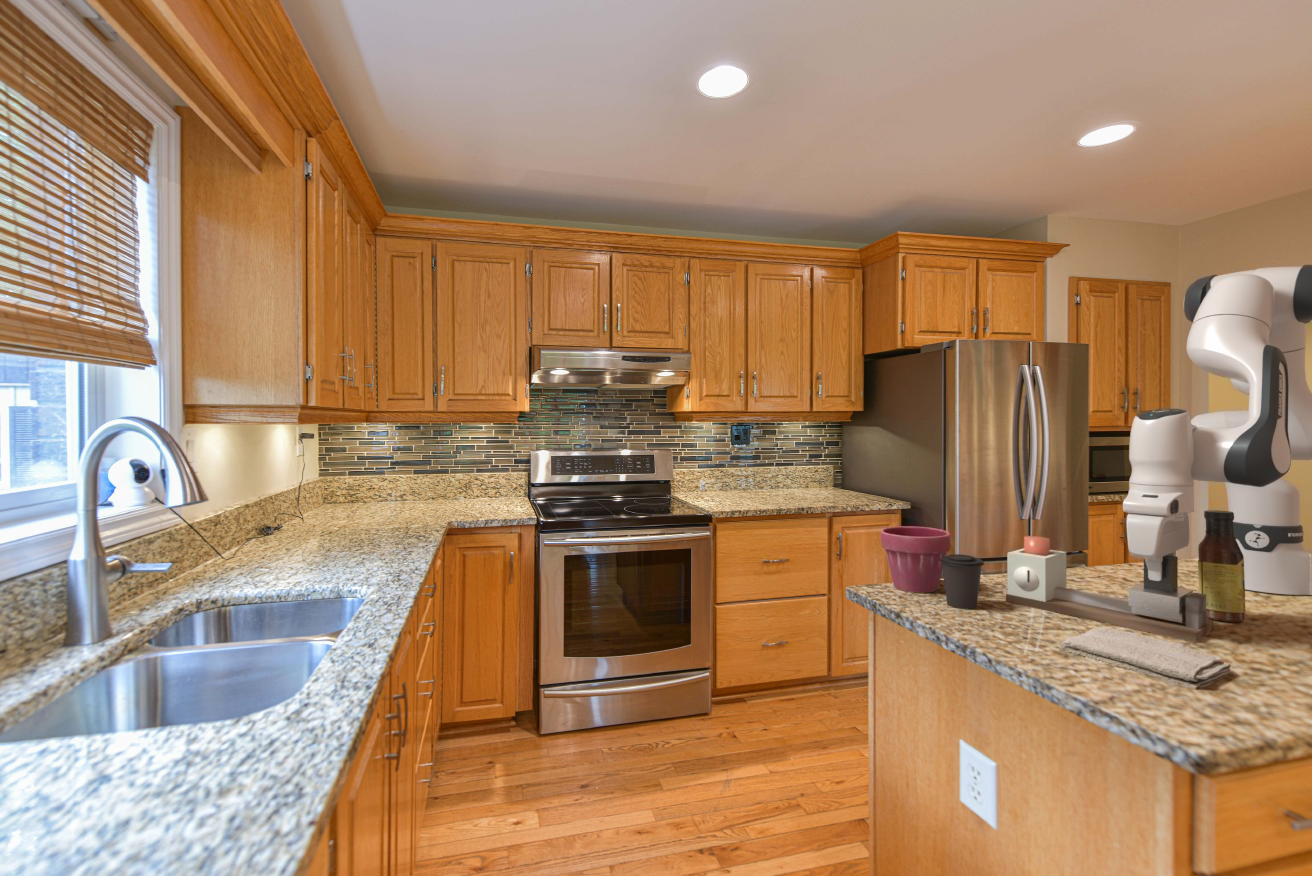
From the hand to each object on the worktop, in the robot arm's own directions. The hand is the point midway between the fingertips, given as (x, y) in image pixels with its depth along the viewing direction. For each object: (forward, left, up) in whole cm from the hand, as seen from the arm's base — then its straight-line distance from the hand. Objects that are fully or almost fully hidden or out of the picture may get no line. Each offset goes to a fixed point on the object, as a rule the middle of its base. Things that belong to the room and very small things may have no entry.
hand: (1160, 577), depth 106 cm
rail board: (0, -9, -9) cm, 12 cm away
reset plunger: (0, -20, -1) cm, 20 cm away
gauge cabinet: (0, -20, -9) cm, 22 cm away
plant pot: (+10, -41, -9) cm, 43 cm away
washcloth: (+22, +3, -10) cm, 24 cm away
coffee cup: (+15, -28, -9) cm, 33 cm away
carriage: (0, 0, -7) cm, 7 cm away
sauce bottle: (-14, +5, -9) cm, 18 cm away
